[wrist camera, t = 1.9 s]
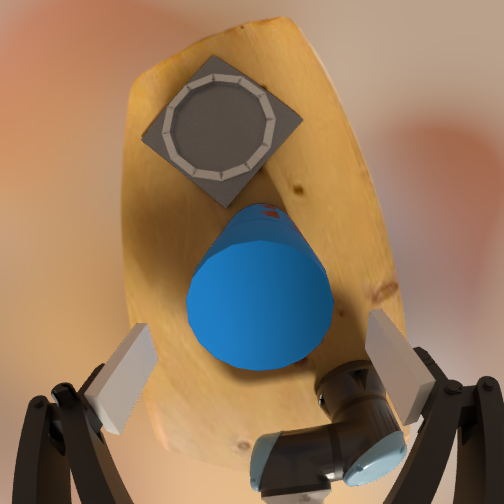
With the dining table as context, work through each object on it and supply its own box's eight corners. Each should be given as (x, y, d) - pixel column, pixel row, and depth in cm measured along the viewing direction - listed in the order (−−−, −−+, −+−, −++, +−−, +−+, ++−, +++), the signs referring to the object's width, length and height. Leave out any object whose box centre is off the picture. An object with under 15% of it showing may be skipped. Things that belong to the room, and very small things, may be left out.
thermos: (248, 280, 45) (234, 388, 21) (214, 224, 42) (154, 285, 18) (307, 249, 43) (357, 334, 19) (274, 189, 41) (293, 206, 16)
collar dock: (302, 121, 37) (305, 117, 35) (226, 207, 42) (224, 209, 39) (214, 57, 35) (211, 51, 32) (143, 140, 39) (137, 139, 37)
